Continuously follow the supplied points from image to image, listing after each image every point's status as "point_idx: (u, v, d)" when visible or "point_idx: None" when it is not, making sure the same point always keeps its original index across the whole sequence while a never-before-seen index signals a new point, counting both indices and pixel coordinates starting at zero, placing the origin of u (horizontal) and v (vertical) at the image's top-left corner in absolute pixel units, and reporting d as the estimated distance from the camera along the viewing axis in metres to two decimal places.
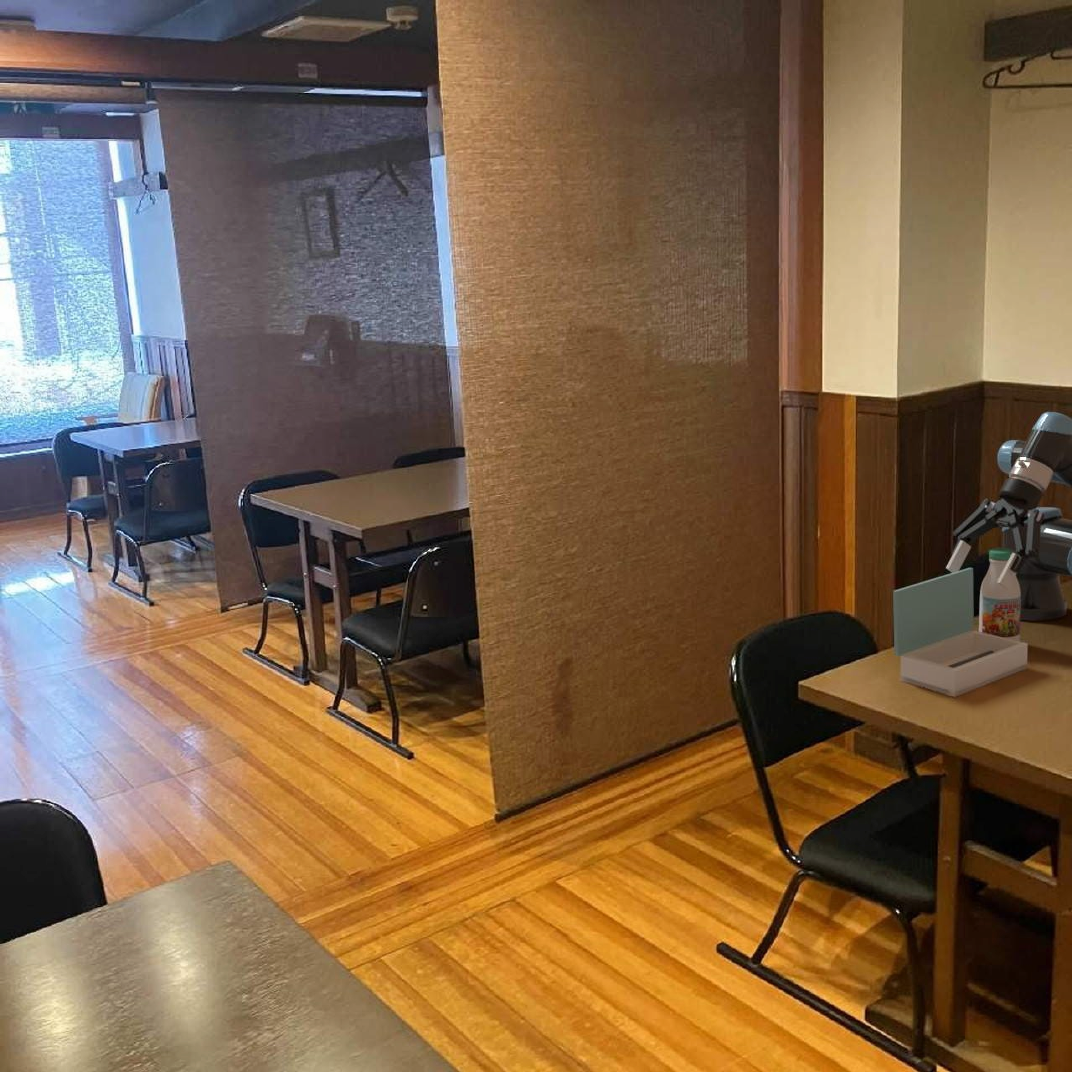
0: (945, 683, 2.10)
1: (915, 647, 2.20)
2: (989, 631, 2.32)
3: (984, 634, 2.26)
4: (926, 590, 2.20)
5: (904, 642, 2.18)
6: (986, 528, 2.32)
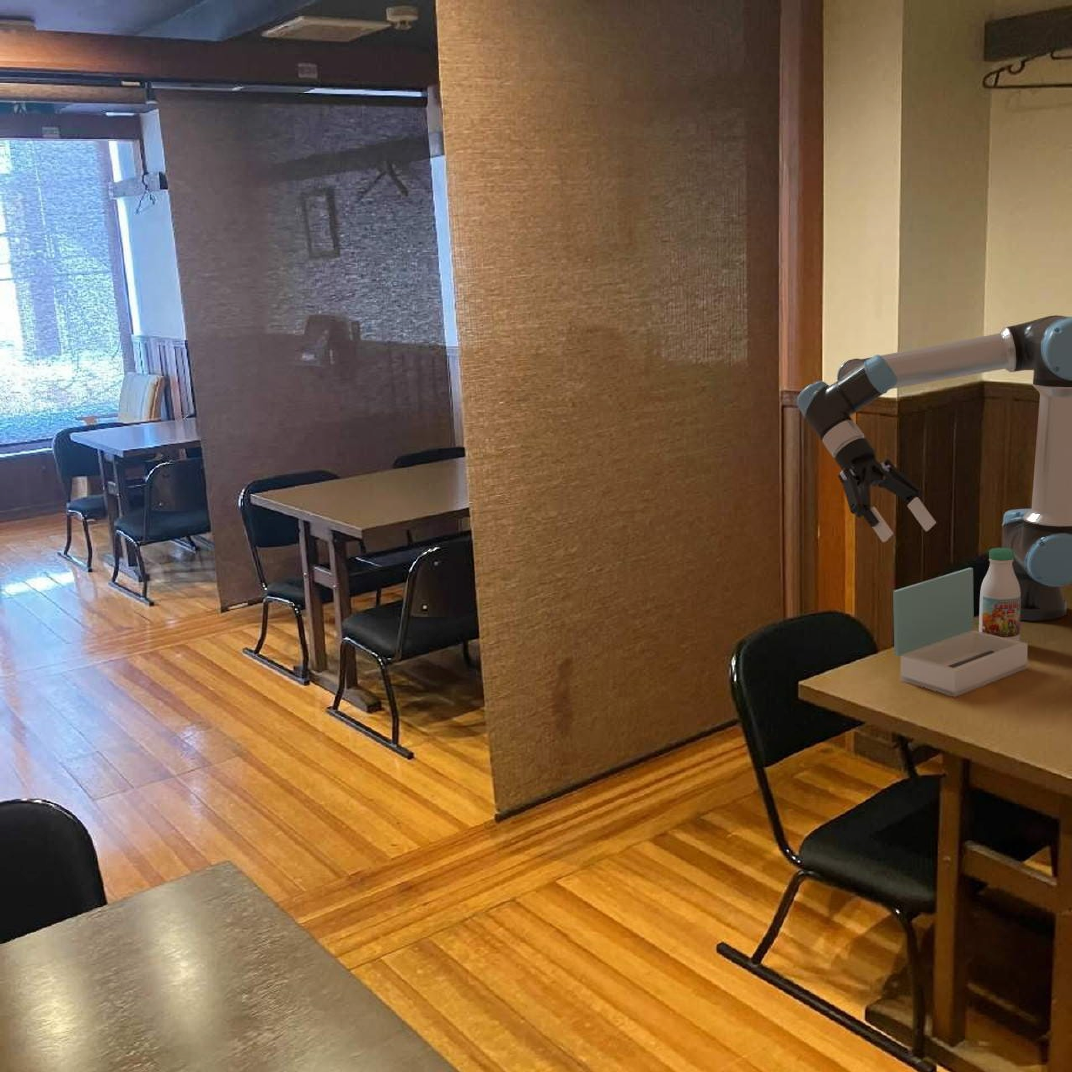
0: (945, 683, 2.10)
1: (915, 647, 2.20)
2: (989, 631, 2.32)
3: (984, 634, 2.26)
4: (926, 590, 2.20)
5: (904, 642, 2.18)
6: (892, 485, 2.31)
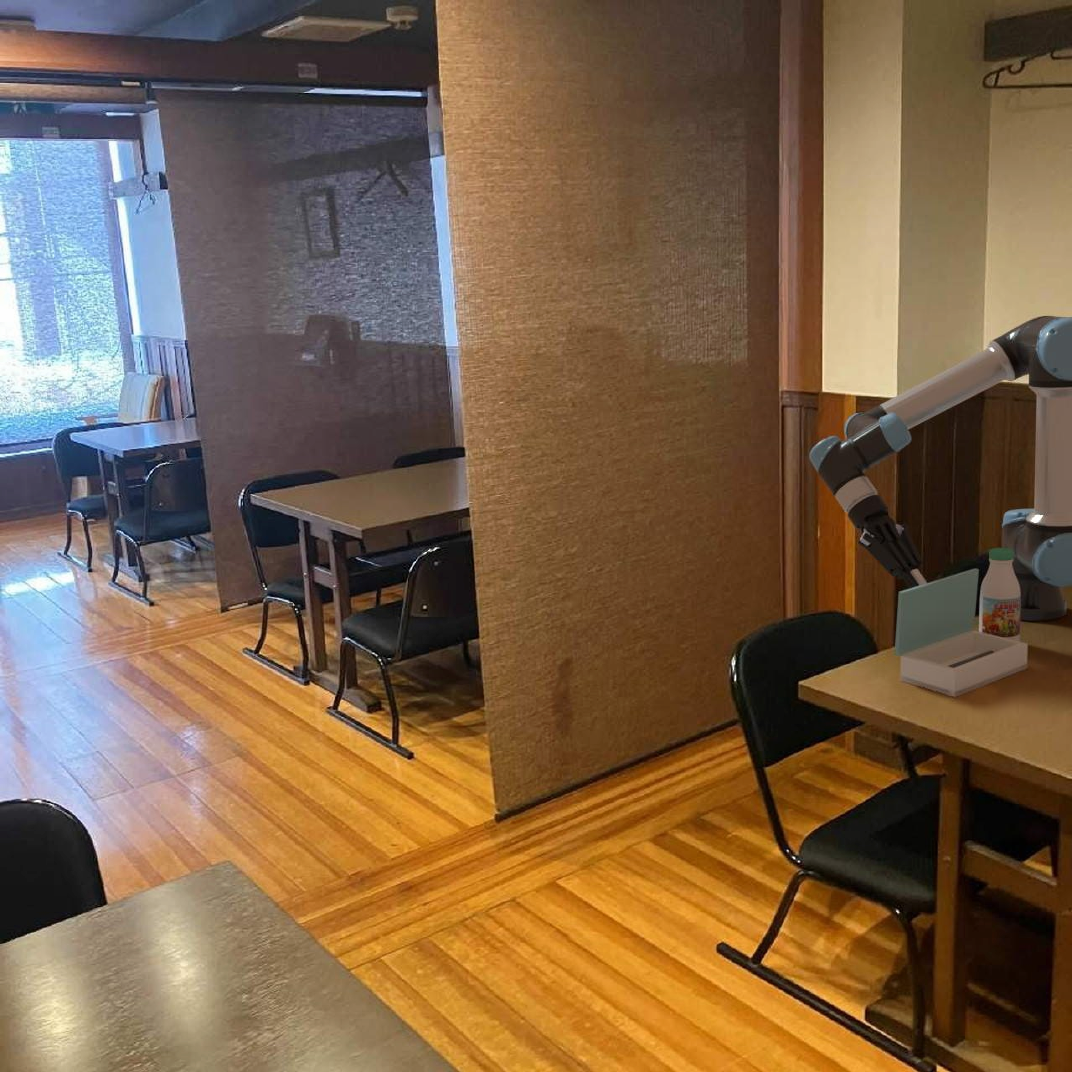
0: (945, 683, 2.10)
1: (915, 647, 2.20)
2: (989, 631, 2.32)
3: (984, 634, 2.26)
4: (931, 591, 2.19)
5: (905, 642, 2.18)
6: (896, 548, 2.28)
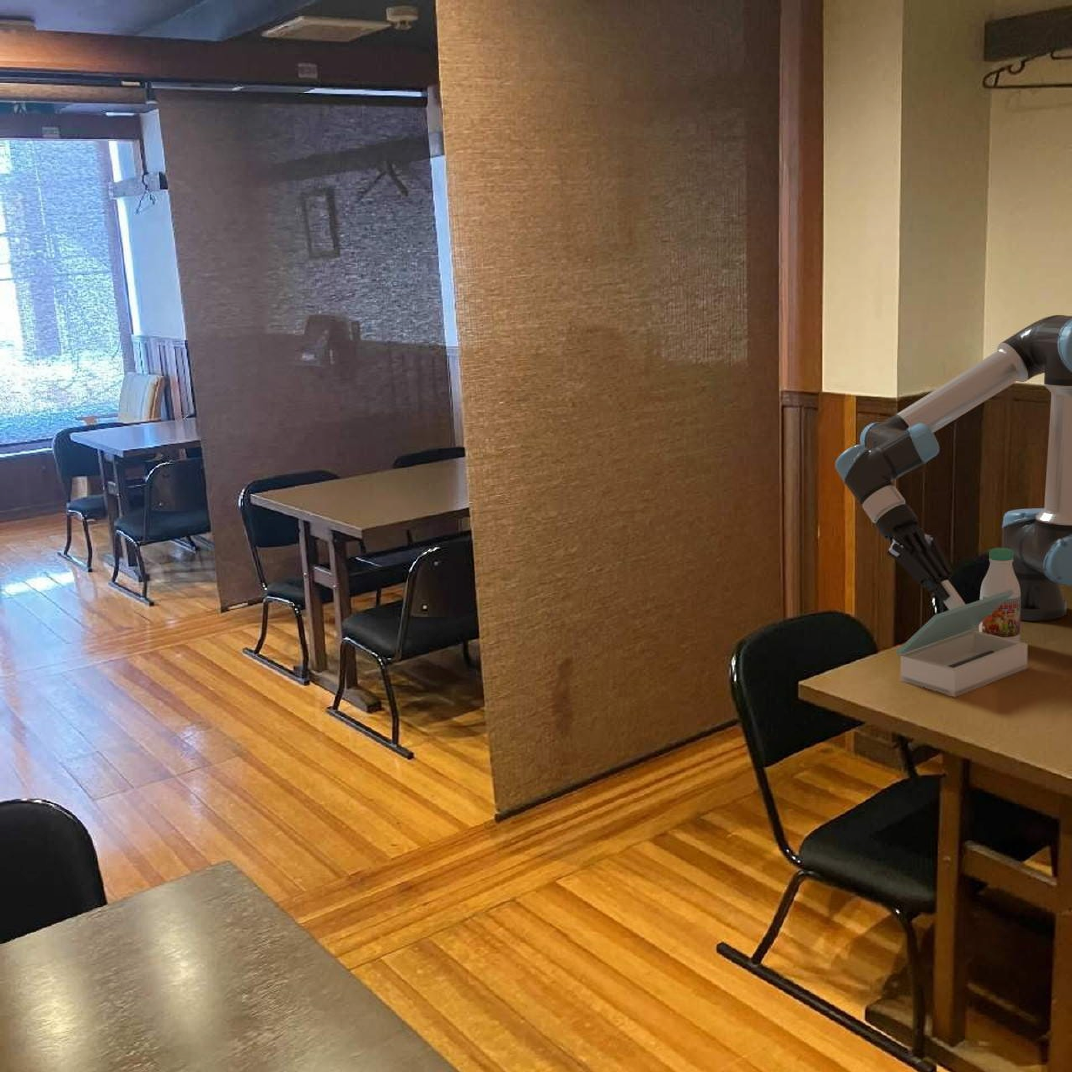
0: (945, 683, 2.10)
1: (917, 647, 2.20)
2: (989, 631, 2.32)
3: (984, 634, 2.26)
4: (962, 613, 2.14)
5: (911, 646, 2.17)
6: (926, 558, 2.23)
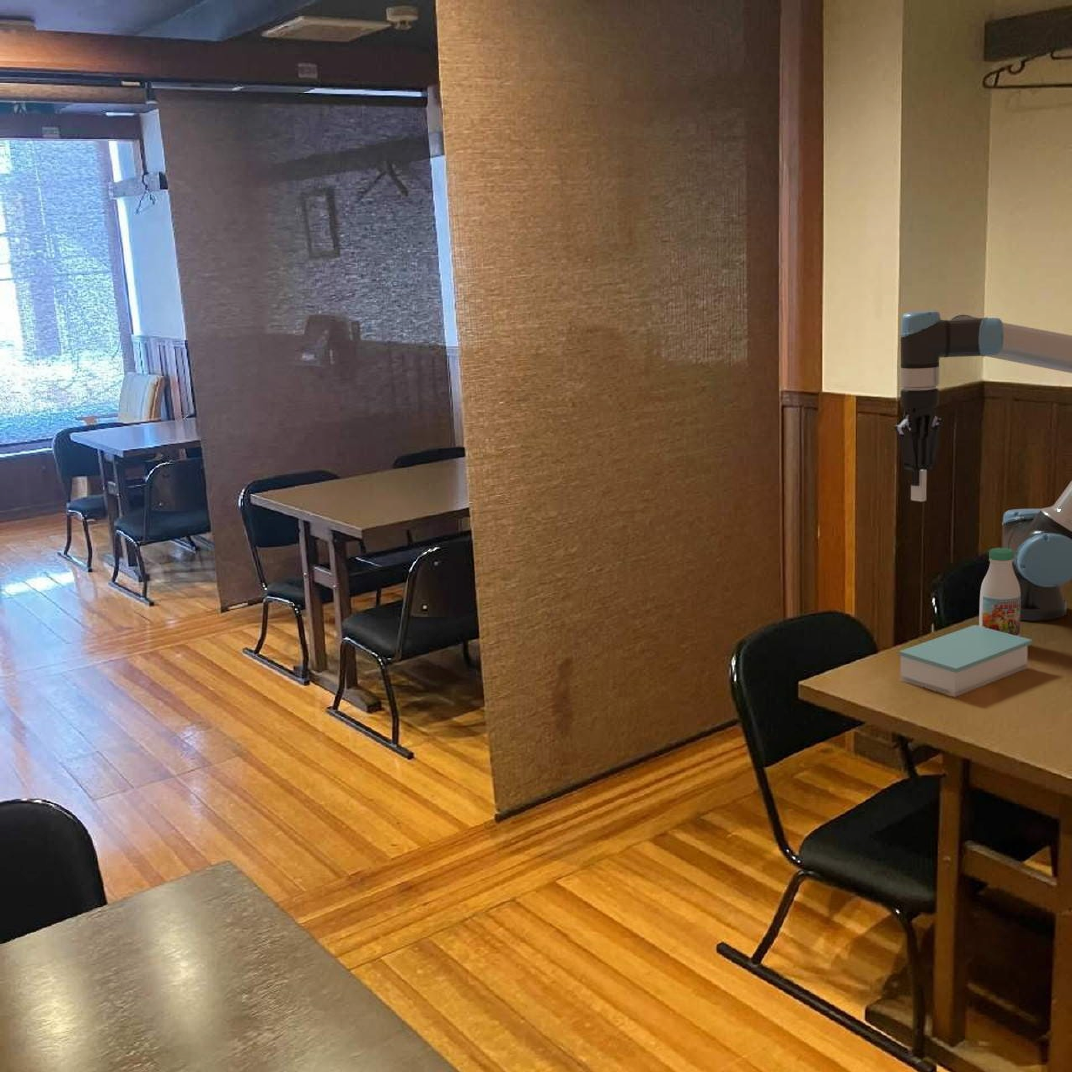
0: (945, 683, 2.10)
1: None
2: None
3: None
4: None
5: None
6: (921, 442, 2.39)
